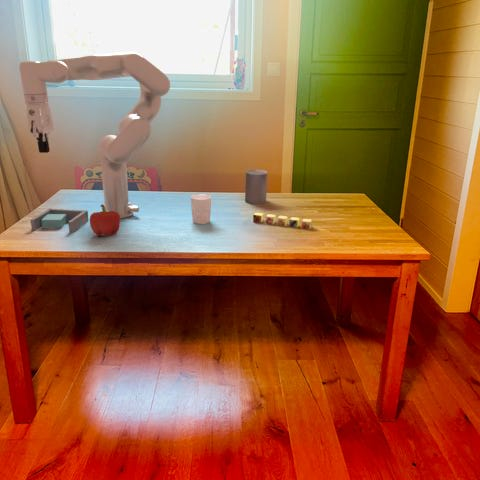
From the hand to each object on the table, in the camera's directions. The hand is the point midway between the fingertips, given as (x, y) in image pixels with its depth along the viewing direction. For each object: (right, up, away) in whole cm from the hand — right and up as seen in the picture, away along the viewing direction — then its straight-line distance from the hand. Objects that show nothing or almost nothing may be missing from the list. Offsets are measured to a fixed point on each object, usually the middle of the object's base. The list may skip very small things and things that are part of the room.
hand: (44, 152), depth 171 cm
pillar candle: (+78, -14, +45) cm, 91 cm away
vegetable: (+22, -30, 0) cm, 37 cm away
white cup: (+55, -25, +16) cm, 62 cm away
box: (+3, -26, +7) cm, 27 cm away
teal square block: (+1, -26, +8) cm, 27 cm away
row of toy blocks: (+87, -27, +13) cm, 92 cm away
